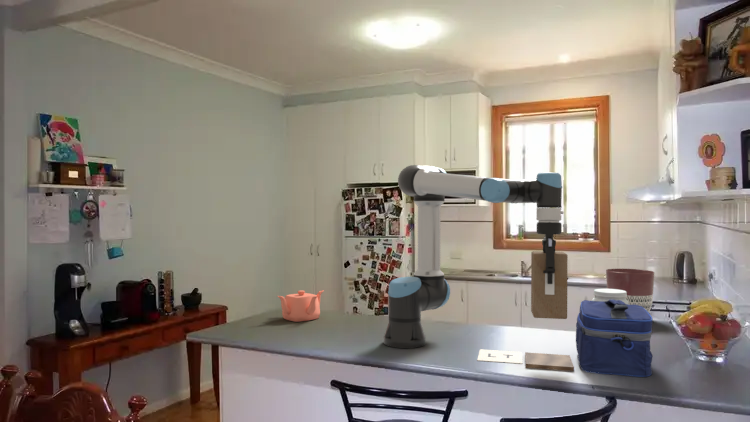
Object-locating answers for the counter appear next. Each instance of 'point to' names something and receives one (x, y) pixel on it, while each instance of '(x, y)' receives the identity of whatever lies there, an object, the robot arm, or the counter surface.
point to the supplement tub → (610, 295)
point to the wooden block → (540, 301)
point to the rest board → (549, 361)
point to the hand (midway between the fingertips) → (548, 291)
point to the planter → (633, 285)
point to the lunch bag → (614, 338)
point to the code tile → (500, 356)
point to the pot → (301, 306)
